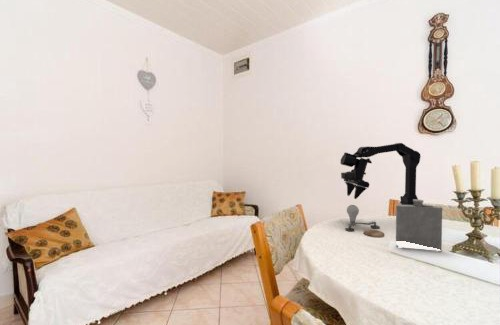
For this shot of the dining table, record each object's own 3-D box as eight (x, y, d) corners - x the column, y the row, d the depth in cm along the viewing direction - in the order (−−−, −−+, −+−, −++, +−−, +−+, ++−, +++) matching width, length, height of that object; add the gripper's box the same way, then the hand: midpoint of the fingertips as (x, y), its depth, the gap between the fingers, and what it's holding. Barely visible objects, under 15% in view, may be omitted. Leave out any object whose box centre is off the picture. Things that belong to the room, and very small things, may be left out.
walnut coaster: (386, 233, 120) (386, 232, 120) (381, 238, 113) (382, 237, 113) (366, 230, 126) (366, 228, 126) (361, 234, 119) (361, 233, 119)
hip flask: (396, 247, 103) (397, 199, 102) (394, 244, 106) (394, 198, 106) (442, 252, 98) (443, 201, 97) (438, 248, 101) (439, 199, 101)
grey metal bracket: (374, 226, 131) (374, 220, 131) (380, 228, 128) (380, 222, 127) (345, 229, 127) (345, 223, 127) (349, 232, 123) (349, 225, 123)
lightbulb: (348, 222, 139) (348, 203, 139) (360, 224, 135) (360, 204, 135) (345, 225, 135) (345, 205, 134) (356, 227, 131) (356, 206, 130)
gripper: (338, 164, 143) (331, 190, 144) (352, 166, 124) (343, 196, 125) (357, 169, 143) (350, 195, 144) (373, 172, 124) (365, 202, 125)
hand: (351, 197), depth 134 cm, fingers open, 9 cm apart
